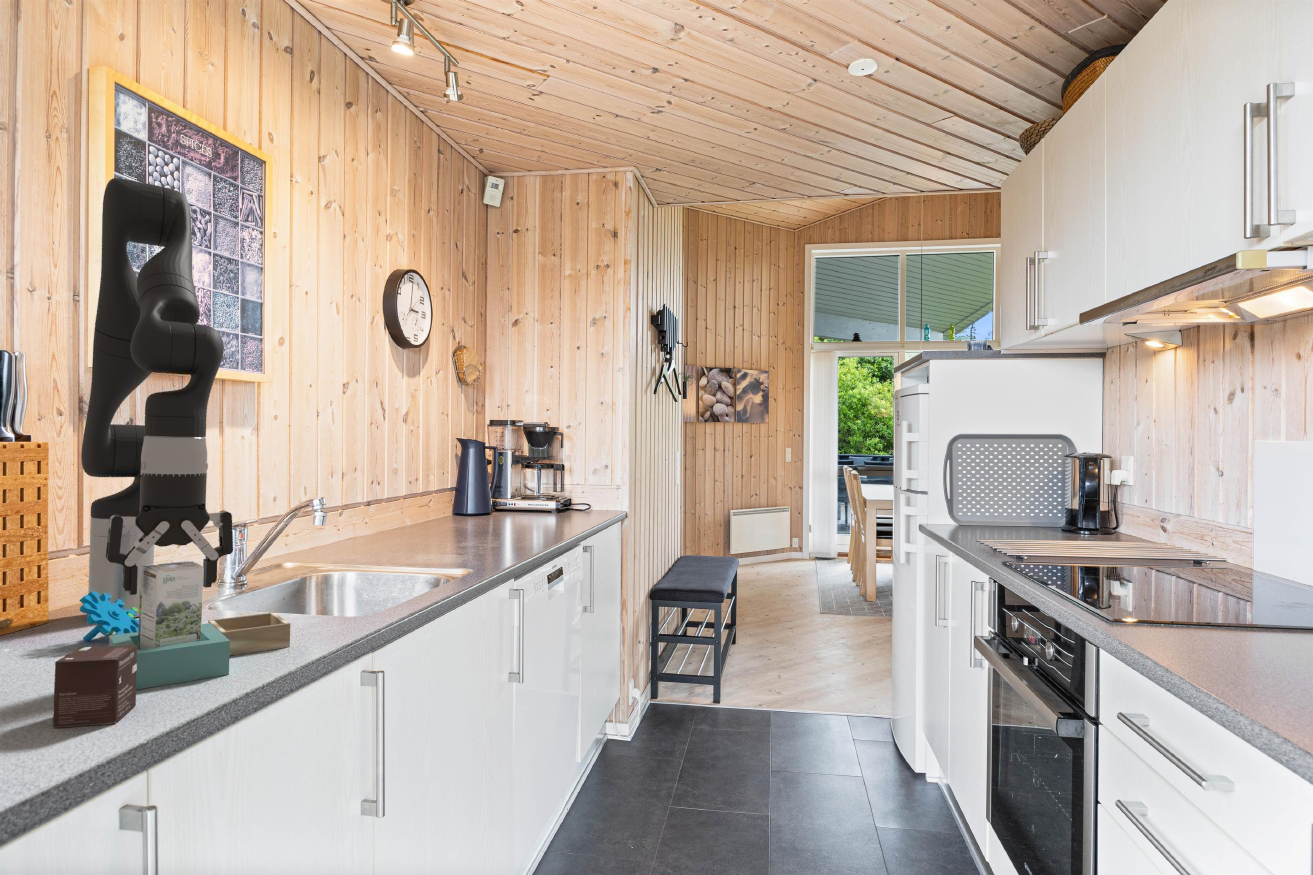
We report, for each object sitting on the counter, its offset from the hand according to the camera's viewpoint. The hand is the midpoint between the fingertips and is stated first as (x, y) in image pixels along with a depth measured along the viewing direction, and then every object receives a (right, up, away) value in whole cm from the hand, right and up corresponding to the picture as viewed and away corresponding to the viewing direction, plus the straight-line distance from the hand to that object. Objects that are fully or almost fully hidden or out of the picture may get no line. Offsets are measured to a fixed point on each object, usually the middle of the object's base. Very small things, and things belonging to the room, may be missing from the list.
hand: (170, 590), depth 101 cm
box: (+2, -11, -17) cm, 20 cm away
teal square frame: (0, -11, 0) cm, 11 cm away
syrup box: (0, -11, 0) cm, 11 cm away
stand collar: (+3, -11, +13) cm, 18 cm away
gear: (-18, -11, +14) cm, 25 cm away
